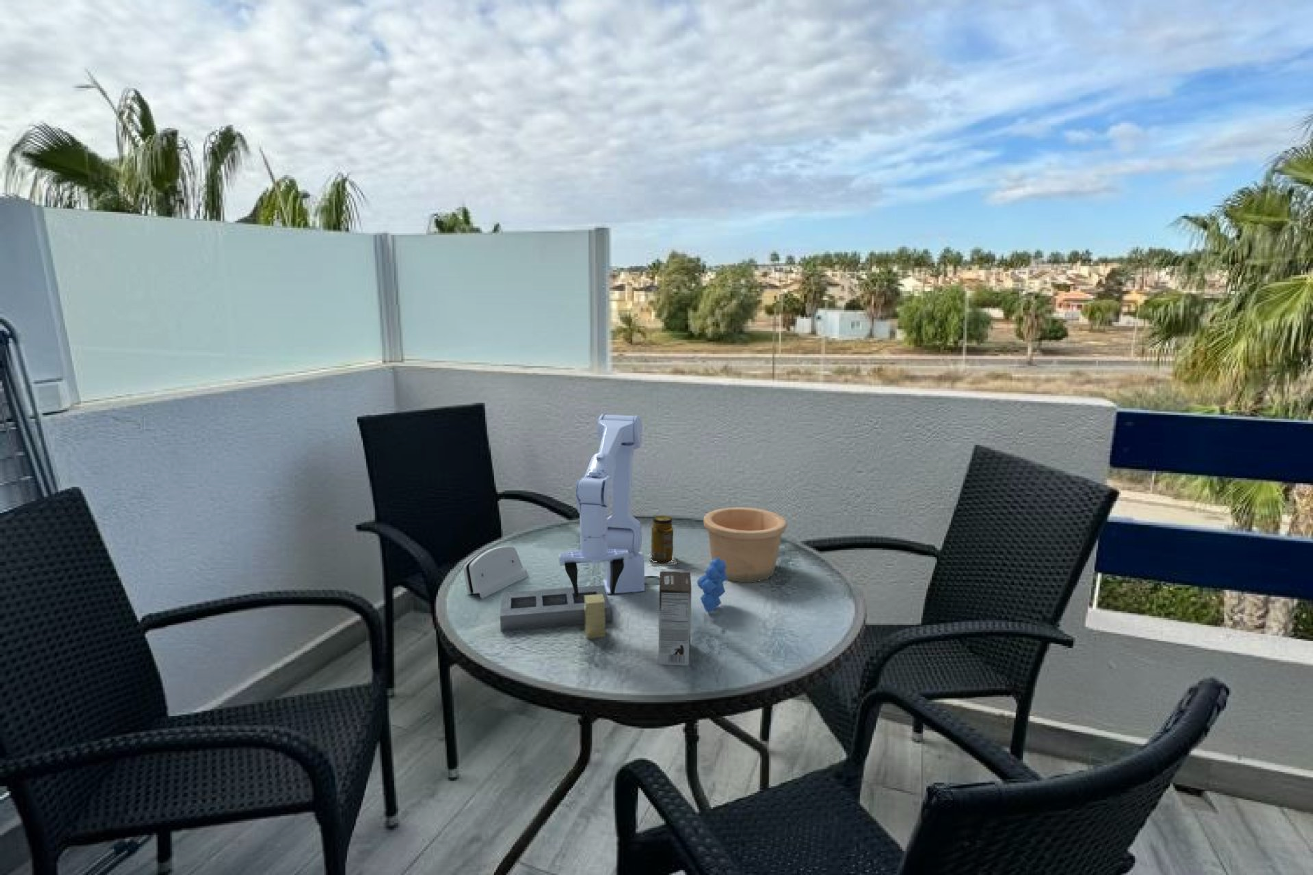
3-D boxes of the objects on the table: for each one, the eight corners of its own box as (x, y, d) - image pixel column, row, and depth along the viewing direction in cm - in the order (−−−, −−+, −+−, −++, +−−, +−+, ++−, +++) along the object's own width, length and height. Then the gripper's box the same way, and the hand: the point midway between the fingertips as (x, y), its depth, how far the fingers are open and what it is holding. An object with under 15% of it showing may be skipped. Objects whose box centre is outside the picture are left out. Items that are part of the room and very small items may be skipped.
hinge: (481, 598, 158) (469, 559, 158) (468, 600, 160) (457, 561, 160) (529, 575, 172) (518, 538, 172) (517, 577, 174) (506, 541, 174)
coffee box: (658, 642, 138) (659, 570, 135) (689, 642, 138) (690, 570, 135) (657, 665, 129) (658, 588, 126) (690, 666, 129) (691, 589, 126)
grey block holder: (604, 598, 158) (603, 585, 158) (610, 621, 147) (610, 607, 146) (502, 606, 154) (501, 592, 153) (500, 631, 142) (500, 616, 142)
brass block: (602, 627, 144) (602, 593, 143) (605, 636, 140) (604, 601, 139) (584, 629, 143) (584, 595, 142) (586, 638, 140) (585, 603, 138)
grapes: (705, 594, 161) (706, 548, 159) (731, 600, 158) (733, 553, 156) (686, 614, 151) (687, 565, 148) (714, 620, 148) (715, 570, 146)
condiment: (671, 553, 188) (671, 513, 186) (678, 564, 180) (679, 523, 178) (646, 555, 187) (646, 514, 184) (652, 566, 178) (652, 524, 176)
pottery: (767, 593, 162) (770, 538, 159) (688, 575, 173) (689, 523, 170) (795, 564, 181) (797, 515, 178) (722, 549, 191) (723, 502, 188)
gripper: (560, 541, 132) (561, 604, 135) (630, 537, 135) (630, 599, 138) (558, 530, 139) (559, 590, 142) (625, 526, 142) (625, 585, 144)
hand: (594, 593), depth 140 cm, fingers open, 7 cm apart
